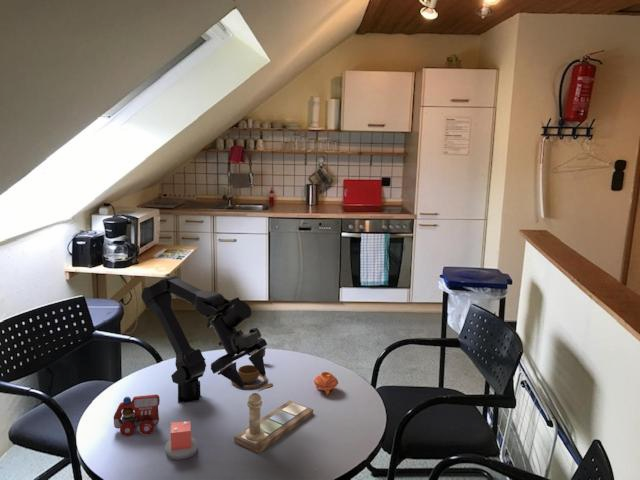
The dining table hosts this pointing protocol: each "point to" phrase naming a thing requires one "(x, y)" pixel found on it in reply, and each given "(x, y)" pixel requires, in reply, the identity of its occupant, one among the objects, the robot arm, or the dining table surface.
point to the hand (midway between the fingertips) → (254, 381)
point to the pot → (326, 382)
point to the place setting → (251, 376)
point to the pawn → (254, 418)
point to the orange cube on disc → (181, 441)
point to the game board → (276, 425)
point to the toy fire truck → (137, 414)
